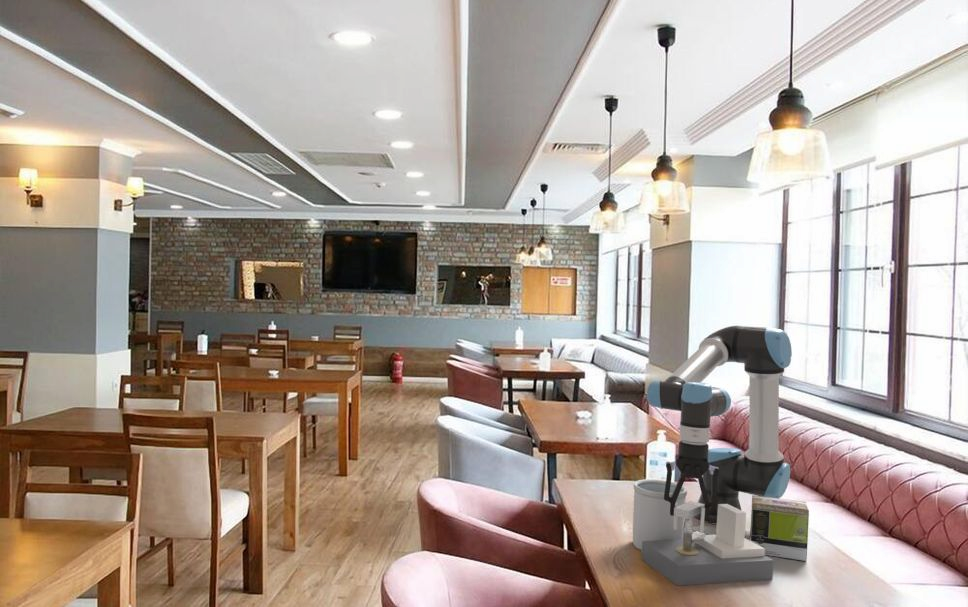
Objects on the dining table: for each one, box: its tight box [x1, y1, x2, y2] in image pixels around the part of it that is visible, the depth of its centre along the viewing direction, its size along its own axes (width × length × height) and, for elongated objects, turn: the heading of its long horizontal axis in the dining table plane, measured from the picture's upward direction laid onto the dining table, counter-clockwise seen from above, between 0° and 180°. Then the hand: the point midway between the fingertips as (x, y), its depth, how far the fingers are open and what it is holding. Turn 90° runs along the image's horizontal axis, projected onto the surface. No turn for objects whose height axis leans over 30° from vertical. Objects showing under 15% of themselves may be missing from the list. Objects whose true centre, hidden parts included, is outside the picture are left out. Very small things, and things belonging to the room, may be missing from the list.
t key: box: [674, 500, 706, 551], centre depth 194 cm, size 14×4×12 cm, turn 140°
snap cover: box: [695, 504, 765, 558], centre depth 197 cm, size 13×12×11 cm
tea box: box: [749, 495, 810, 562], centre depth 212 cm, size 15×10×15 cm, turn 71°
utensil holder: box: [632, 478, 688, 551], centre depth 211 cm, size 15×15×18 cm
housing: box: [640, 538, 774, 587], centre depth 195 cm, size 28×18×5 cm, turn 107°
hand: (688, 529), depth 193 cm, fingers closed on t key, 6 cm apart
